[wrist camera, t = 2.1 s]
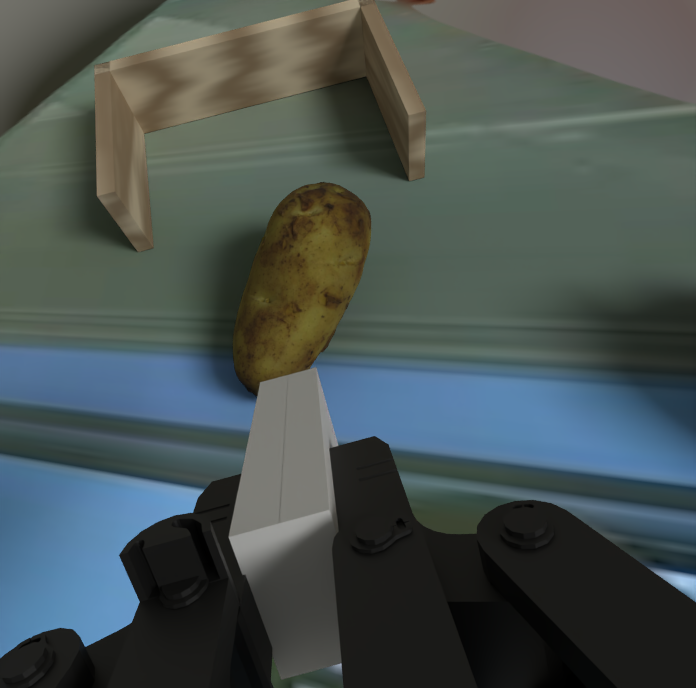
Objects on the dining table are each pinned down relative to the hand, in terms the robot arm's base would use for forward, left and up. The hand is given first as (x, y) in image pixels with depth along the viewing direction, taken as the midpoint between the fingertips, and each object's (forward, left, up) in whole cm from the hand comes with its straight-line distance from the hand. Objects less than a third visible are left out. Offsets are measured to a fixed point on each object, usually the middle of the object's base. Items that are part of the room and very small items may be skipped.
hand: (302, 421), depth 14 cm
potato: (0, +14, -18) cm, 23 cm away
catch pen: (0, +30, -18) cm, 35 cm away
